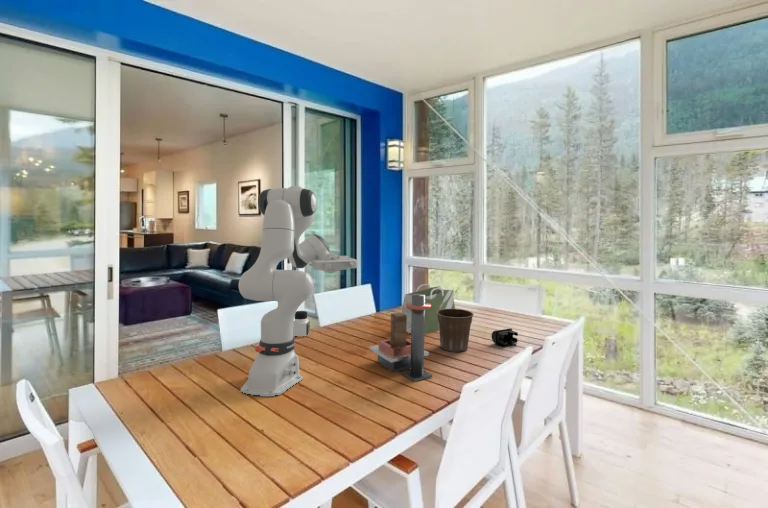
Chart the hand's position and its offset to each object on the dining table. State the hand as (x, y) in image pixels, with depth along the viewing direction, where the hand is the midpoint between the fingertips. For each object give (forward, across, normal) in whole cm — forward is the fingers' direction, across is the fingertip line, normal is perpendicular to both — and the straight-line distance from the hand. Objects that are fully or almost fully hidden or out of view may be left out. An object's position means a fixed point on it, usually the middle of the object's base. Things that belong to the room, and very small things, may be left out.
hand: (341, 266), depth 173 cm
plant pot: (+20, +46, +37) cm, 62 cm away
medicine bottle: (-30, -9, +37) cm, 48 cm away
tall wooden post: (+27, +13, +31) cm, 43 cm away
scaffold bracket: (+31, +13, +37) cm, 50 cm away
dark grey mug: (+27, +71, +37) cm, 84 cm away
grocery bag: (-12, +56, +37) cm, 68 cm away
